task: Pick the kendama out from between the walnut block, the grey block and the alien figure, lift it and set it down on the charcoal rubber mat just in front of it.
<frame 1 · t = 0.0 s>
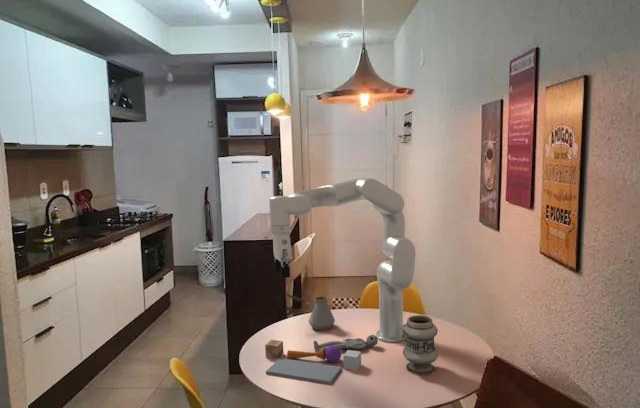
hand: (282, 274, 174), 31 cm above the table, tool pointing down, fingers open, 9 cm apart
coffee pot: (310, 327, 205), on the table
walnut block: (274, 355, 177), on the table
charcoal mat: (303, 371, 163), on the table
alien figure: (346, 350, 181), on the table
kendama: (314, 361, 172), on the table
grey block: (352, 367, 166), on the table
apothecary jar: (420, 369, 163), on the table
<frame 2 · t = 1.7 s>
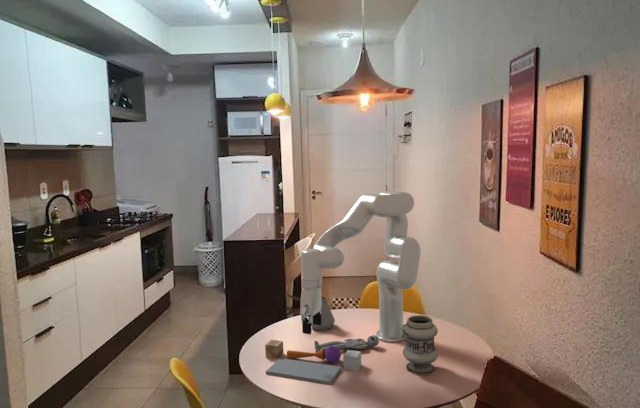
hand: (312, 328, 171), 12 cm above the table, tool pointing down, fingers open, 9 cm apart
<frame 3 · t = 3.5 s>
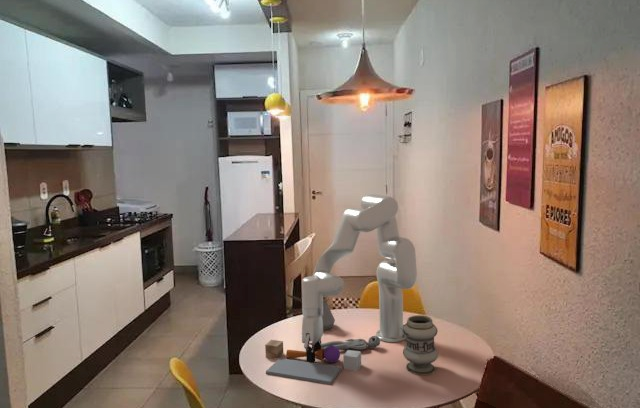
hand: (314, 357, 172), 1 cm above the table, tool pointing down, fingers closed on kendama, 5 cm apart
kendama: (313, 360, 172), on the table, touching gripper
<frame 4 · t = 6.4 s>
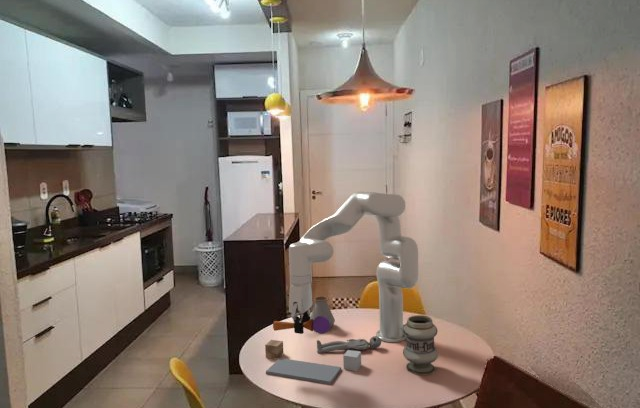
hand: (302, 329, 162), 15 cm above the table, tool pointing down, fingers closed on kendama, 5 cm apart
kendama: (302, 332, 162), point 14 cm above the table, touching gripper
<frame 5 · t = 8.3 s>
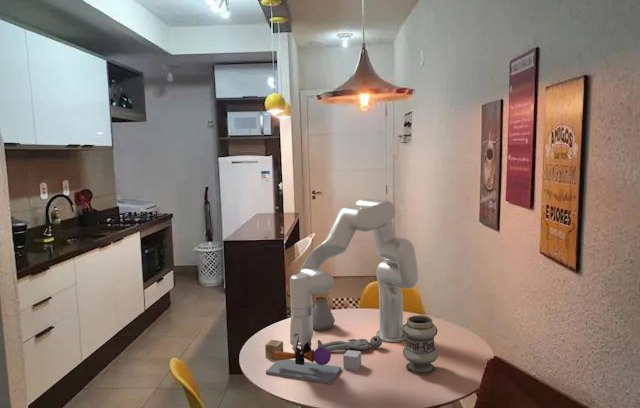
hand: (303, 360, 163), 4 cm above the table, tool pointing down, fingers closed on kendama, 5 cm apart
kendama: (302, 363, 163), point 3 cm above the table, touching gripper
when the fingers open (3 cm above the table, at t = 9.4 s): kendama drops 1 cm, resting on charcoal mat.
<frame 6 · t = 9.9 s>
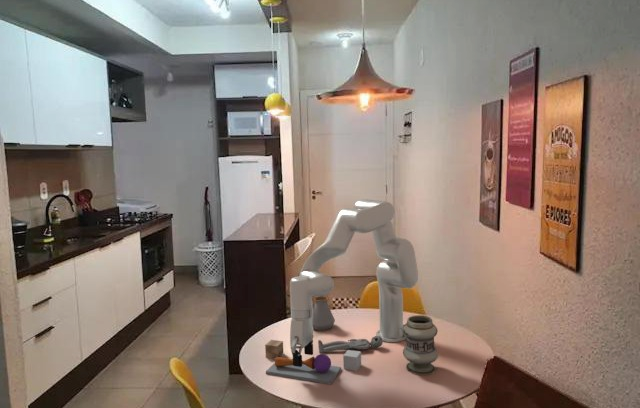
hand: (303, 360, 163), 4 cm above the table, tool pointing down, fingers open, 9 cm apart
kendama: (303, 369, 163), point 1 cm above the table, touching charcoal mat
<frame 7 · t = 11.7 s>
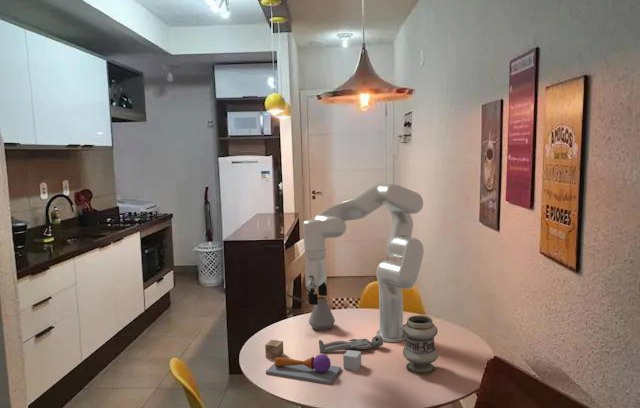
hand: (318, 299, 169), 23 cm above the table, tool pointing down, fingers open, 9 cm apart
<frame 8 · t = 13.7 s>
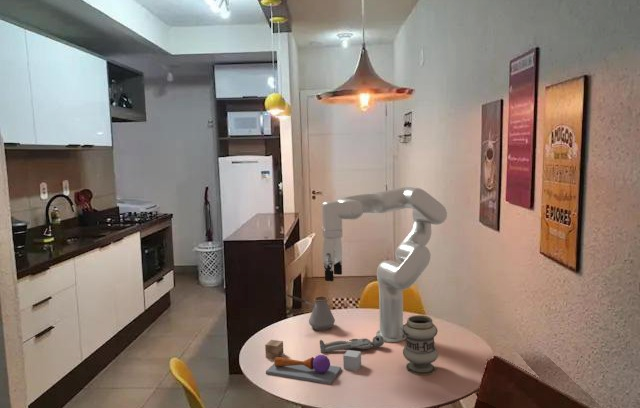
hand: (333, 277, 179), 28 cm above the table, tool pointing down, fingers open, 9 cm apart
at the end: kendama inside the target area on the charcoal mat (0.5 cm from its centre), point 0.8 cm above the charcoal mat's base; kendama touching charcoal mat; the gripper is holding nothing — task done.
